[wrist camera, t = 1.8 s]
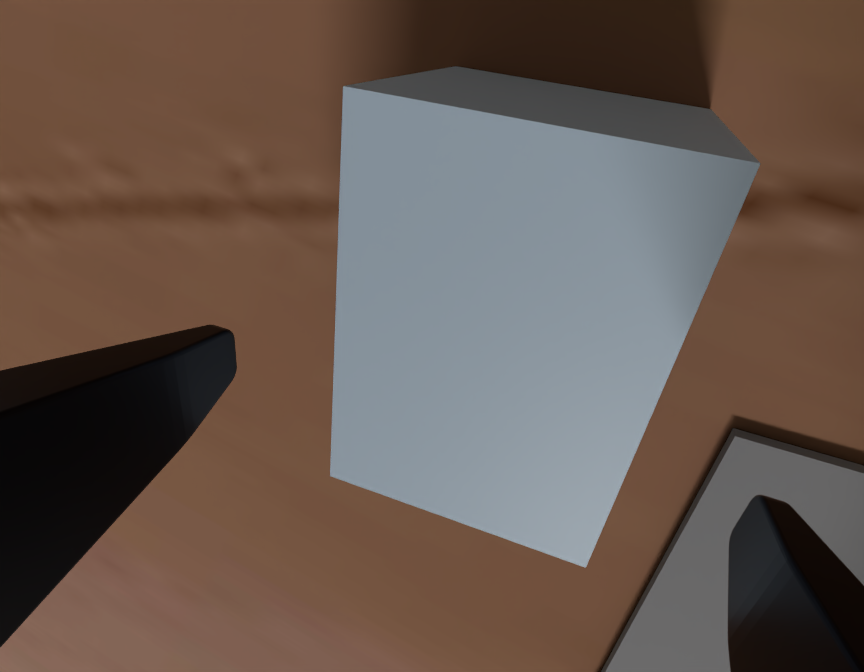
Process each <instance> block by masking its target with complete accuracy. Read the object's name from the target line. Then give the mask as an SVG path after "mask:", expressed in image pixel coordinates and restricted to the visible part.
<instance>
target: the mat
mask: <svg viewBox="0 0 864 672" xmlns="http://www.w3.org/2000/svg"><path fill="white" fill-rule="evenodd" d="M756 495H765V496H768V497H771V498H774V499H778V500H781V501H784V502H786V503H788V504H789V505H790V506H792V507H793V509H794V510H795V511H796V512H797V513H798V514H799V515H800V516H801V517H802V518H803V519H804V521H805V522H806V523H807V524H808V525H809V526H810V527H811V528H812V529H813V530H814V531H815V533H816V534H817V535H818V536H819V537H820V538H821V539H822V540H823V541H824V542H825V543H826V545H827V546H828V547H829V548H830V549H831V550H832V551H833V552H834V553H835V554H836V556H837V557H838V558H839V559H840V560H841V561H842V562H843V563H844V564H845V565H846V566H847V568H848V569H849V570H850V571H851V572H852V573H853V574H854V575H855V576H856V577H857V578H858V580H859V581H860V582H861V583H862V584H863V585H864V465H860V464H857V463H853V462H850V461H846V460H843V459H839V458H836V457H832V456H829V455H825V454H822V453H818V452H815V451H811V450H808V449H804V448H801V447H797V446H794V445H790V444H787V443H783V442H780V441H776V440H773V439H769V438H766V437H762V436H759V435H755V434H752V433H748V432H745V431H741V430H738V429H734V428H733V429H732V431H731V433H730V435H729V437H728V439H727V440H726V442H725V444H724V446H723V448H722V450H721V451H720V453H719V455H718V457H717V459H716V461H715V463H714V464H713V466H712V468H711V470H710V472H709V474H708V475H707V477H706V479H705V481H704V483H703V485H702V486H701V488H700V490H699V492H698V494H697V496H696V498H695V499H694V501H693V503H692V505H691V507H690V509H689V510H688V512H687V514H686V516H685V518H684V520H683V521H682V523H681V525H680V527H679V529H678V531H677V533H676V534H675V536H674V538H673V540H672V542H671V544H670V545H669V547H668V549H667V551H666V553H665V555H664V556H663V558H662V560H661V562H660V564H659V566H658V568H657V569H656V571H655V573H654V575H653V577H652V579H651V580H650V582H649V584H648V586H647V588H646V590H645V591H644V593H643V595H642V597H641V599H640V601H639V603H638V604H637V606H636V608H635V610H634V612H633V614H632V615H631V617H630V619H629V621H628V623H627V625H626V626H625V628H624V630H623V632H622V634H621V636H620V638H619V639H618V641H617V643H616V645H615V647H614V649H613V650H612V652H611V654H610V656H609V658H608V660H607V661H606V663H605V665H604V667H603V669H602V671H601V672H731V671H730V662H729V650H728V563H729V540H730V535H731V533H732V530H733V528H734V527H735V525H736V523H737V522H738V520H739V518H740V517H741V515H742V514H743V512H744V510H745V509H746V507H747V506H748V504H749V502H750V501H751V499H752V498H753V497H755V496H756Z"/></svg>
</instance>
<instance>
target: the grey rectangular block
mask: <svg viewBox="0 0 864 672" xmlns="http://www.w3.org/2000/svg"><path fill="white" fill-rule="evenodd" d="M759 166H760V163H759V161H758V160H757V159H756V158H755V157H754V156H753V155H752V154H751V153H750V152H749V150H748V149H747V148H746V147H745V146H744V145H743V144H742V143H741V142H740V141H739V140H738V138H737V137H736V136H735V135H734V134H733V133H732V132H731V131H730V130H729V129H728V127H727V126H726V125H725V124H724V123H723V122H722V121H721V120H720V119H719V118H718V117H717V115H716V114H715V113H714V112H713V111H712V110H711V109H707V108H701V107H695V106H689V105H683V104H677V103H671V102H665V101H659V100H653V99H647V98H641V97H635V96H629V95H624V94H618V93H612V92H606V91H600V90H594V89H588V88H582V87H576V86H570V85H564V84H558V83H552V82H546V81H541V80H535V79H529V78H523V77H517V76H511V75H505V74H499V73H493V72H487V71H481V70H475V69H469V68H463V67H457V66H454V67H448V68H443V69H437V70H431V71H426V72H420V73H414V74H409V75H403V76H397V77H392V78H386V79H380V80H375V81H369V82H363V83H358V84H352V85H346V86H343V107H342V137H341V167H340V197H339V227H338V257H337V287H336V317H335V347H334V377H333V407H332V437H331V467H330V476H332V477H334V478H337V479H340V480H343V481H346V482H348V483H351V484H354V485H357V486H360V487H362V488H365V489H368V490H371V491H374V492H376V493H379V494H382V495H385V496H387V497H390V498H393V499H396V500H399V501H401V502H404V503H407V504H410V505H413V506H415V507H418V508H421V509H424V510H426V511H429V512H432V513H435V514H438V515H440V516H443V517H446V518H449V519H452V520H454V521H457V522H460V523H463V524H465V525H468V526H471V527H474V528H477V529H479V530H482V531H485V532H488V533H491V534H493V535H496V536H499V537H502V538H505V539H507V540H510V541H513V542H516V543H518V544H521V545H524V546H527V547H530V548H532V549H535V550H538V551H541V552H544V553H546V554H549V555H552V556H555V557H557V558H560V559H563V560H566V561H569V562H571V563H574V564H577V565H580V566H583V567H585V568H586V566H587V563H588V561H589V559H590V557H591V554H592V552H593V550H594V547H595V545H596V543H597V540H598V538H599V536H600V533H601V531H602V529H603V526H604V524H605V522H606V520H607V517H608V515H609V513H610V510H611V508H612V506H613V503H614V501H615V499H616V496H617V494H618V492H619V489H620V487H621V485H622V483H623V480H624V478H625V476H626V473H627V471H628V469H629V466H630V464H631V462H632V459H633V457H634V455H635V452H636V450H637V448H638V445H639V443H640V441H641V439H642V436H643V434H644V432H645V429H646V427H647V425H648V422H649V420H650V418H651V415H652V413H653V411H654V408H655V406H656V404H657V402H658V399H659V397H660V395H661V392H662V390H663V388H664V385H665V383H666V381H667V378H668V376H669V374H670V371H671V369H672V367H673V365H674V362H675V360H676V358H677V355H678V353H679V351H680V348H681V346H682V344H683V341H684V339H685V337H686V334H687V332H688V330H689V327H690V325H691V323H692V321H693V318H694V316H695V314H696V311H697V309H698V307H699V304H700V302H701V300H702V297H703V295H704V293H705V290H706V288H707V286H708V284H709V281H710V279H711V277H712V274H713V272H714V270H715V267H716V265H717V263H718V260H719V258H720V256H721V253H722V251H723V249H724V247H725V244H726V242H727V240H728V237H729V235H730V233H731V230H732V228H733V226H734V223H735V221H736V219H737V216H738V214H739V212H740V209H741V207H742V205H743V203H744V200H745V198H746V196H747V193H748V191H749V189H750V186H751V184H752V182H753V179H754V177H755V175H756V172H757V170H758V168H759Z"/></svg>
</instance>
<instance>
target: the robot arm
mask: <svg viewBox="0 0 864 672" xmlns="http://www.w3.org/2000/svg"><path fill="white" fill-rule="evenodd" d="M236 369H237V364H236V351H235V339H234V335H233V333H232V332H231V331H230V330H228V329H225V328H222V327H219V326H216V325H206V326H201V327H197V328H192V329H187V330H183V331H178V332H174V333H169V334H165V335H160V336H156V337H151V338H147V339H142V340H137V341H133V342H128V343H124V344H119V345H115V346H110V347H106V348H101V349H97V350H92V351H87V352H83V353H78V354H74V355H69V356H65V357H60V358H56V359H51V360H47V361H42V362H37V363H33V364H28V365H24V366H19V367H15V368H10V369H6V370H1V371H0V647H1V646H2V645H3V644H4V643H5V642H6V641H7V640H8V638H9V637H10V636H11V635H12V634H13V633H14V632H15V631H16V630H17V629H18V627H19V626H20V625H21V624H22V623H23V622H24V621H25V620H26V619H27V618H28V616H29V615H30V614H31V613H32V612H33V611H34V610H35V609H36V608H37V607H38V605H39V604H40V603H41V602H42V601H43V600H44V599H45V598H46V597H47V595H48V594H49V593H50V592H51V591H52V590H53V589H54V588H55V587H56V586H57V584H58V583H59V582H60V581H61V580H62V579H63V578H64V577H65V576H66V575H67V573H68V572H69V571H70V570H71V569H72V568H73V567H74V566H75V565H76V564H77V562H78V561H79V560H80V559H81V558H82V557H83V556H84V555H85V554H86V553H87V551H88V550H89V549H90V548H91V547H92V546H93V545H94V544H95V543H96V542H97V540H98V539H99V538H100V537H101V536H102V535H103V534H104V533H105V532H106V531H107V529H108V528H109V527H110V526H111V525H112V524H113V523H114V522H115V521H116V520H117V518H118V517H119V516H120V515H121V514H122V513H123V512H124V511H125V510H126V509H127V507H128V506H129V505H130V504H131V503H132V502H133V501H134V500H135V499H136V498H137V496H138V495H139V494H140V493H141V492H142V491H143V490H144V489H145V488H146V487H147V485H148V484H149V483H150V482H151V481H152V480H153V479H154V478H155V477H156V475H157V474H158V473H159V472H160V471H161V470H162V469H163V468H164V467H165V466H166V464H167V463H168V462H169V461H170V460H171V459H172V458H173V457H174V456H175V455H176V453H177V452H178V451H179V450H180V449H181V448H182V447H183V445H184V444H185V443H186V442H187V441H188V439H189V438H190V437H191V436H192V434H193V433H194V432H195V430H196V429H197V428H198V426H199V425H200V424H201V422H202V421H203V420H204V418H205V417H206V416H207V414H208V413H209V411H210V410H211V409H212V407H213V406H214V405H215V403H216V402H217V401H218V399H219V398H220V397H221V395H222V394H223V392H224V391H225V390H226V388H227V387H228V386H229V384H230V383H231V382H232V380H233V378H234V376H235V373H236ZM728 650H729V662H730V671H731V672H864V585H863V584H862V583H861V582H860V581H859V580H858V578H857V577H856V576H855V575H854V574H853V573H852V572H851V571H850V570H849V569H848V568H847V566H846V565H845V564H844V563H843V562H842V561H841V560H840V559H839V558H838V557H837V556H836V554H835V553H834V552H833V551H832V550H831V549H830V548H829V547H828V546H827V545H826V543H825V542H824V541H823V540H822V539H821V538H820V537H819V536H818V535H817V534H816V533H815V531H814V530H813V529H812V528H811V527H810V526H809V525H808V524H807V523H806V522H805V521H804V519H803V518H802V517H801V516H800V515H799V514H798V513H797V512H796V511H795V510H794V509H793V507H792V506H790V505H789V504H788V503H786V502H784V501H781V500H778V499H774V498H771V497H768V496H765V495H756V496H755V497H753V498H752V499H751V501H750V502H749V504H748V506H747V507H746V509H745V510H744V512H743V514H742V515H741V517H740V518H739V520H738V522H737V523H736V525H735V527H734V528H733V530H732V533H731V535H730V540H729V563H728Z"/></svg>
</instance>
